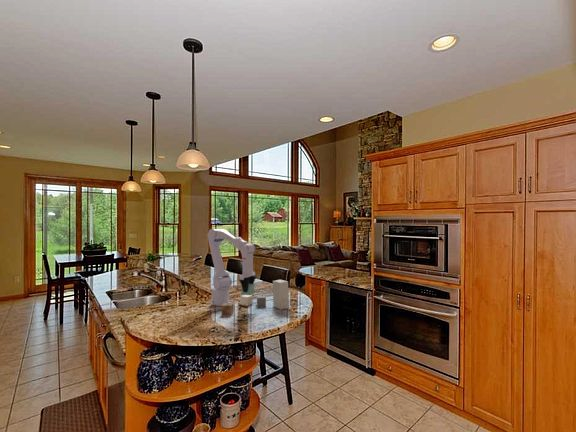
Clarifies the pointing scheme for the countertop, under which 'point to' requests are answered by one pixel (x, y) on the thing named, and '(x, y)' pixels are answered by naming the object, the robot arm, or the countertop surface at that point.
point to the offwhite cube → (246, 300)
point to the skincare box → (280, 294)
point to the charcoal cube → (261, 301)
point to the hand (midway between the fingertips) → (247, 290)
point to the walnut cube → (227, 308)
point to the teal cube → (249, 290)
